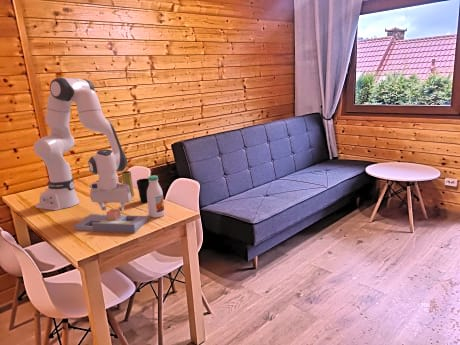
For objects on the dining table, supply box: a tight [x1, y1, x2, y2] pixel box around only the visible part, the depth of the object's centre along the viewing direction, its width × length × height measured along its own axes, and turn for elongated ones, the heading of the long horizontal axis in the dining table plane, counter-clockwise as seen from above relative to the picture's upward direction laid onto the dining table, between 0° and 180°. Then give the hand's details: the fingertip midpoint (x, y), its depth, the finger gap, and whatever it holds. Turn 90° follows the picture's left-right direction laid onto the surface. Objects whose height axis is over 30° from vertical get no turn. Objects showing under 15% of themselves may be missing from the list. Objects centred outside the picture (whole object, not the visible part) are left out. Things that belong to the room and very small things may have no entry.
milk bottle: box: [147, 174, 166, 219], centre depth 174 cm, size 8×8×20 cm
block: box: [106, 208, 122, 220], centre depth 170 cm, size 4×4×4 cm
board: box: [73, 213, 149, 234], centre depth 167 cm, size 30×15×4 cm, turn 79°
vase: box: [120, 170, 135, 198], centre depth 206 cm, size 6×6×14 cm
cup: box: [136, 177, 149, 204], centre depth 196 cm, size 8×8×12 cm
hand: (112, 210), depth 177 cm, fingers open, 8 cm apart
